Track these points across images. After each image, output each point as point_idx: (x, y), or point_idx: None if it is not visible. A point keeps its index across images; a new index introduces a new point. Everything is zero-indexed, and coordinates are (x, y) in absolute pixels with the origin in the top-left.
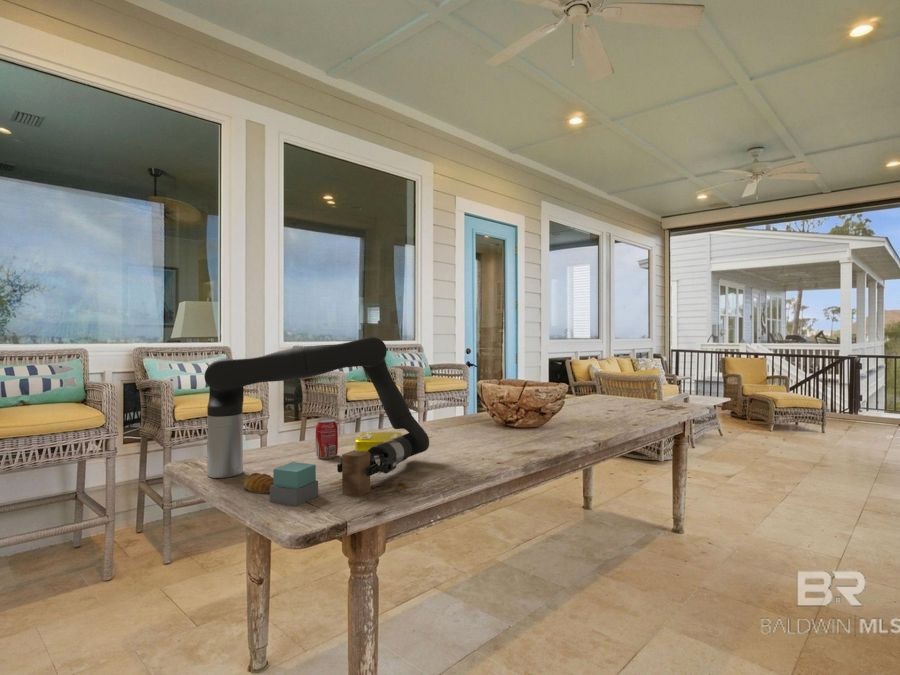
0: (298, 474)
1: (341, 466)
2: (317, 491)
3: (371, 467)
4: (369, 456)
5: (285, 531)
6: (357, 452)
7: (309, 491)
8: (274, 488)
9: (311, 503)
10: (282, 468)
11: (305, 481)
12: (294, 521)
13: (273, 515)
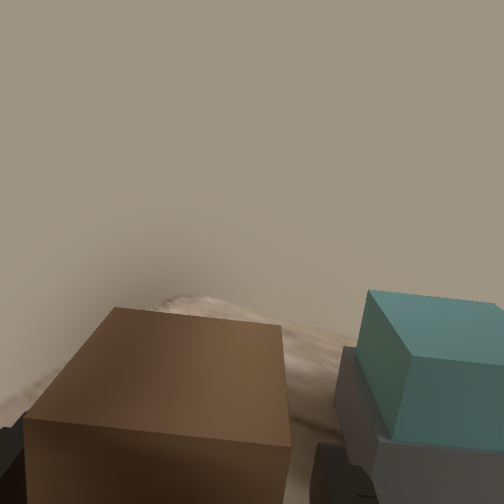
0: (367, 306)
1: (318, 473)
2: None
3: (5, 444)
4: (32, 455)
5: (224, 303)
6: (182, 380)
7: (355, 423)
8: None
9: (303, 425)
10: (471, 308)
11: (372, 370)
12: None
13: (328, 346)
